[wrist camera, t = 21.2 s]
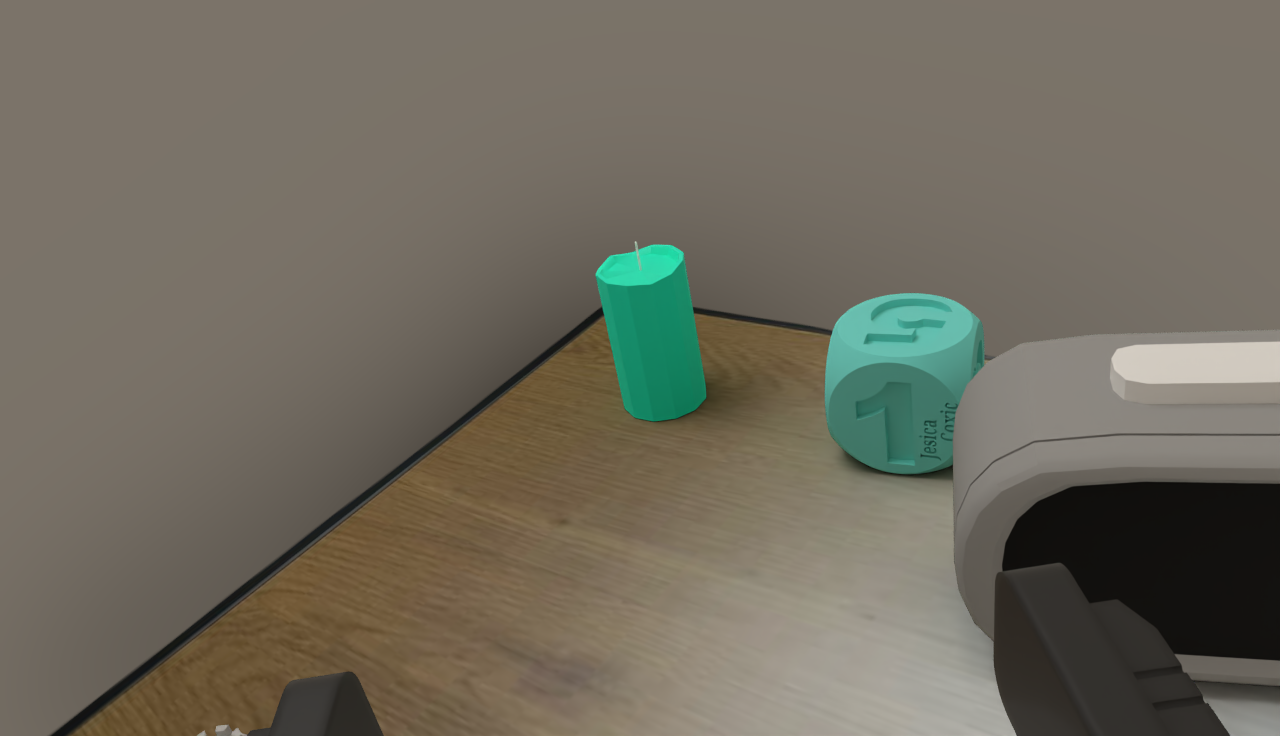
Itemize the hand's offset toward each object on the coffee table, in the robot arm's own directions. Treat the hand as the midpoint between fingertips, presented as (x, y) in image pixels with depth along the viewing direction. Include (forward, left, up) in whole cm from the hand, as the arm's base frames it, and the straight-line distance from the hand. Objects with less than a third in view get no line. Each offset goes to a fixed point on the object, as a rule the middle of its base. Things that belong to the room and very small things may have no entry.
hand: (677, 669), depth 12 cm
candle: (+41, +31, -27) cm, 58 cm away
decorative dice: (+41, +13, -27) cm, 51 cm away
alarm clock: (+32, -3, -27) cm, 42 cm away
